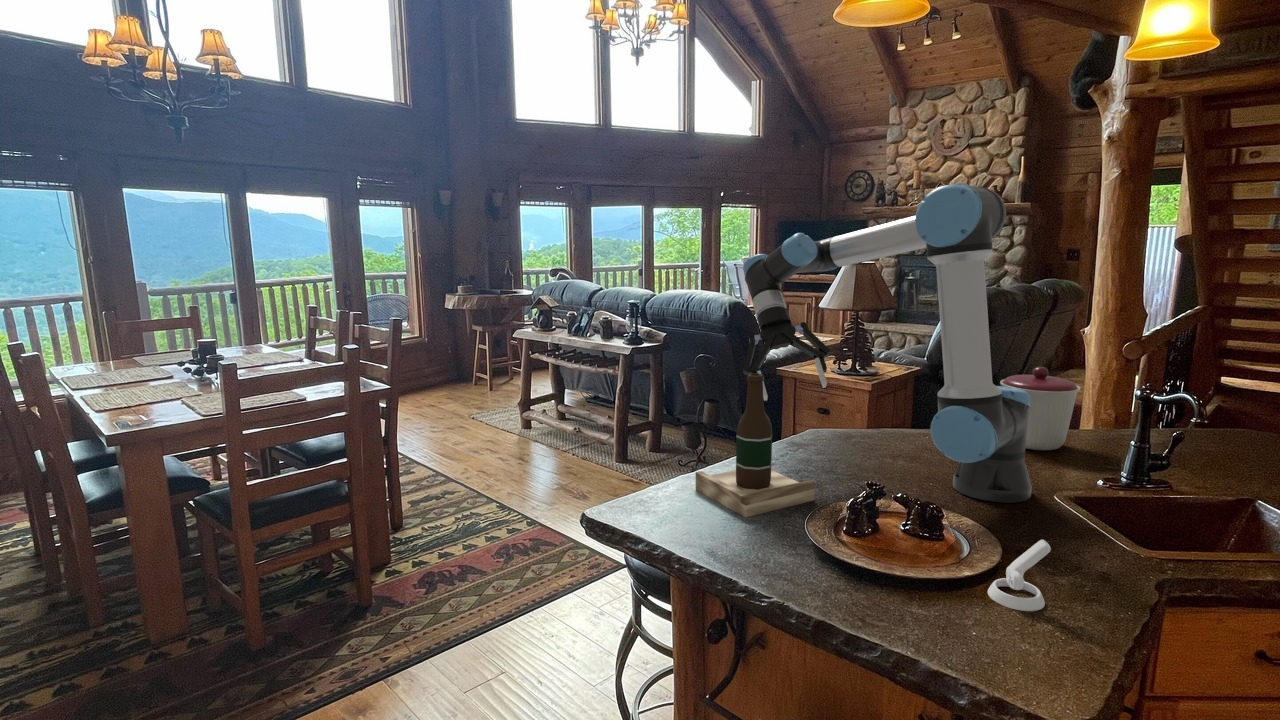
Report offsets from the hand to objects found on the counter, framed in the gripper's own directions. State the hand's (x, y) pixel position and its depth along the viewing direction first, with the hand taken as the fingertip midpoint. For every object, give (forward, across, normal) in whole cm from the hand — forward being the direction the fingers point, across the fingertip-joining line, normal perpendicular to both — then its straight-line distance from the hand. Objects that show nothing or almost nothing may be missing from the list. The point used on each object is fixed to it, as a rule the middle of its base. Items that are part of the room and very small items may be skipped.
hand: (795, 392), depth 154 cm
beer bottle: (+19, +14, 0) cm, 24 cm away
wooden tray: (+21, +15, -1) cm, 26 cm away
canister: (+14, -62, -40) cm, 75 cm away
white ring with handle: (+52, -18, +29) cm, 62 cm away
